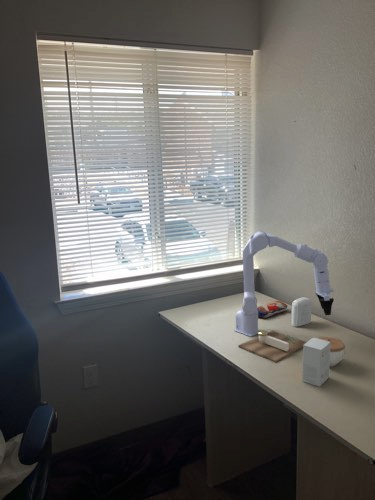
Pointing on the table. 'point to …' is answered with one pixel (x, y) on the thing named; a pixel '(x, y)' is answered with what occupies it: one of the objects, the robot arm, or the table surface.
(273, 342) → the peg lever
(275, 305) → the pencil case
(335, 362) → the lidded jar
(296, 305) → the photo printer
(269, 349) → the board
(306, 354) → the small box
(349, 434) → the table surface
